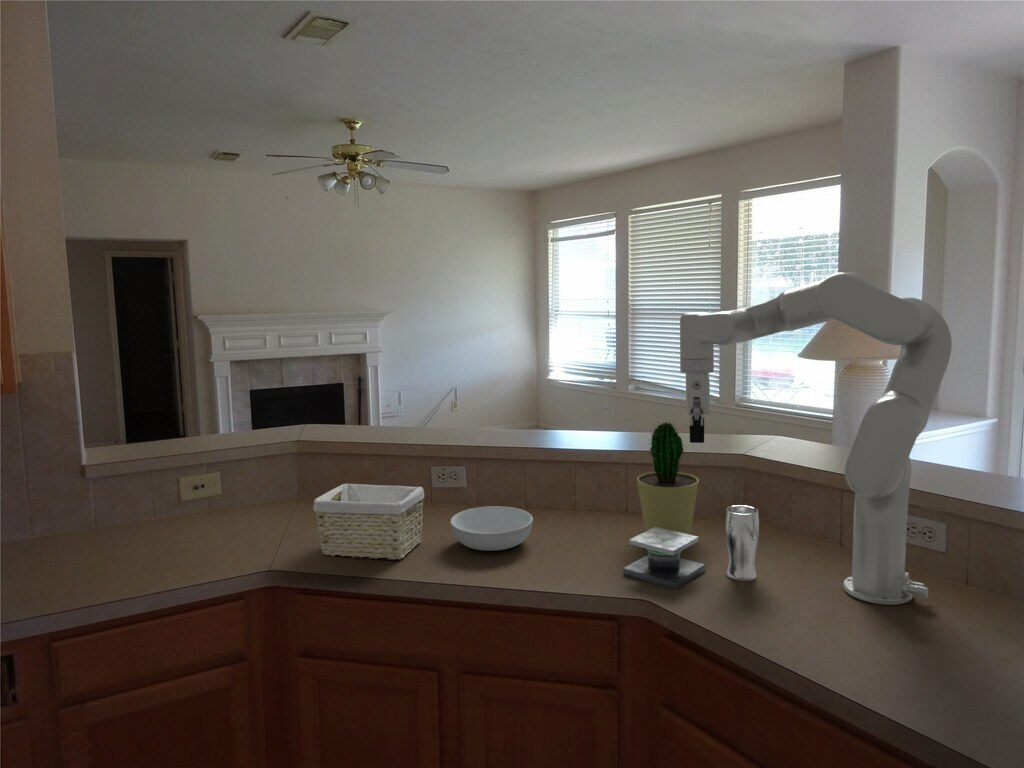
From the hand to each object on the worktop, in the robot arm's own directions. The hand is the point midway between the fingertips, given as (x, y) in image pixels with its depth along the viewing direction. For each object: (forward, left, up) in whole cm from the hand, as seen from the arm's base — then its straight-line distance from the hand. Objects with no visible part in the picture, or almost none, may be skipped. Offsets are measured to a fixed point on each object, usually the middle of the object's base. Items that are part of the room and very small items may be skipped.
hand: (697, 438), depth 166 cm
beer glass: (-14, +6, -28) cm, 32 cm away
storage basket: (+65, +47, -28) cm, 85 cm away
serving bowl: (+43, +26, -28) cm, 58 cm away
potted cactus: (+12, -7, -28) cm, 31 cm away
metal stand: (0, +15, -28) cm, 32 cm away
